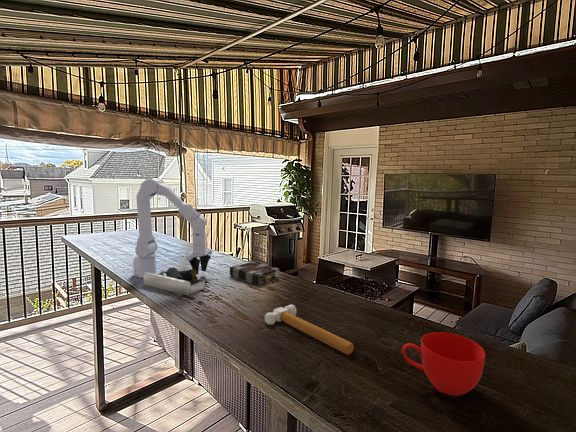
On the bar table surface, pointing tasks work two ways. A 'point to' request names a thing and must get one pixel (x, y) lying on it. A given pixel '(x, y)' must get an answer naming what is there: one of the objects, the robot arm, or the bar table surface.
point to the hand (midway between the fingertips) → (199, 272)
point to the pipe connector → (182, 274)
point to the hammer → (308, 328)
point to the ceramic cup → (449, 362)
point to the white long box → (172, 283)
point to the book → (254, 272)
